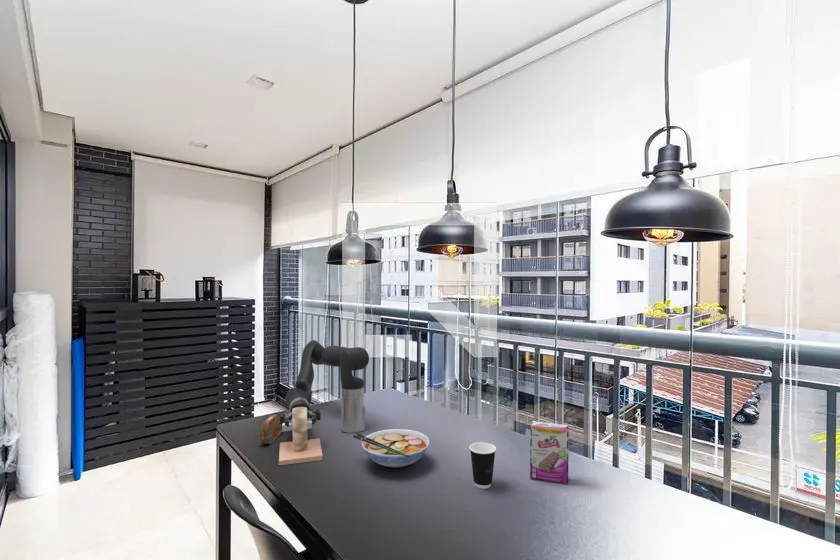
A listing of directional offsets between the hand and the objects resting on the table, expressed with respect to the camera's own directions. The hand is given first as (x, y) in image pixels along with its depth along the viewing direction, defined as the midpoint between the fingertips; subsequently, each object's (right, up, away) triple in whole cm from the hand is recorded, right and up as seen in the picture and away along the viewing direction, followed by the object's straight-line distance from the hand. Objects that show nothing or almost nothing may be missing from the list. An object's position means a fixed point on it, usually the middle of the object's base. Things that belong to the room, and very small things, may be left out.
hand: (300, 422), depth 142 cm
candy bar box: (+81, -11, -18) cm, 84 cm away
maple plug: (0, -10, +1) cm, 10 cm away
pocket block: (-10, -11, +29) cm, 33 cm away
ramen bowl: (+34, -11, -7) cm, 36 cm away
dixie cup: (+60, -11, -22) cm, 65 cm away
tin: (-15, -12, +14) cm, 24 cm away
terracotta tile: (0, -11, +1) cm, 11 cm away
